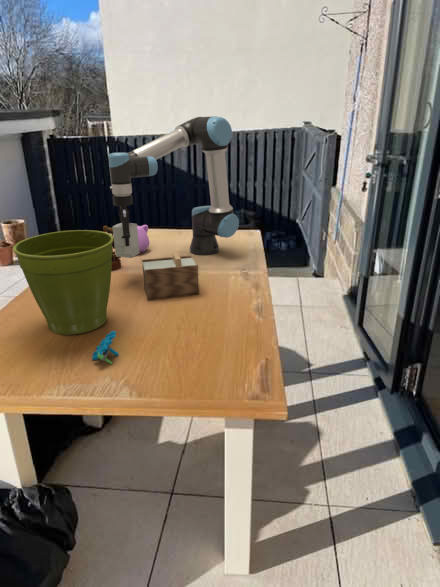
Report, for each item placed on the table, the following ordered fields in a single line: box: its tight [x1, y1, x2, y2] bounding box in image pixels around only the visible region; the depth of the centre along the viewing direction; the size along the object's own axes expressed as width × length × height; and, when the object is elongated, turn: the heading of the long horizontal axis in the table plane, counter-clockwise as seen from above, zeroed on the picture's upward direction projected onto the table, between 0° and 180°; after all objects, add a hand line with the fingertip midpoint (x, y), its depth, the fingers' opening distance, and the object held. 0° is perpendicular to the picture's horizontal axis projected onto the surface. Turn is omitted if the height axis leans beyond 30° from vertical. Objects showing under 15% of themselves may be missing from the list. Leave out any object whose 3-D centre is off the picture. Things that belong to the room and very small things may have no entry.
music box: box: [102, 225, 122, 272], centre depth 193 cm, size 15×11×20 cm
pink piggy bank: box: [137, 224, 150, 254], centre depth 219 cm, size 20×20×15 cm
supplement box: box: [111, 222, 141, 259], centre depth 171 cm, size 7×7×13 cm
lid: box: [142, 252, 197, 271], centre depth 165 cm, size 20×11×4 cm, turn 105°
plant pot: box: [12, 229, 114, 336], centre depth 138 cm, size 30×30×29 cm
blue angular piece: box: [91, 330, 119, 365], centre depth 122 cm, size 11×6×10 cm
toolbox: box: [141, 255, 200, 301], centre depth 167 cm, size 20×13×12 cm, turn 105°
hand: (127, 249), depth 173 cm, fingers closed on supplement box, 10 cm apart
